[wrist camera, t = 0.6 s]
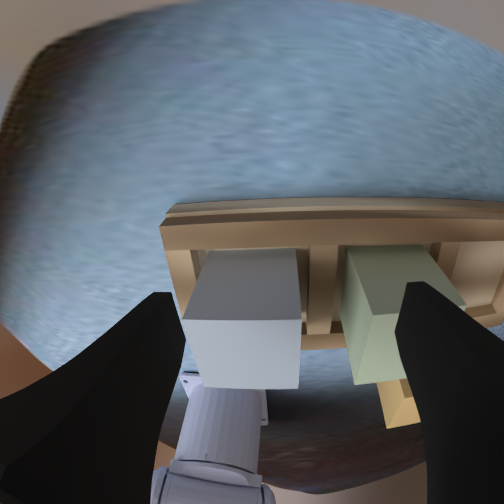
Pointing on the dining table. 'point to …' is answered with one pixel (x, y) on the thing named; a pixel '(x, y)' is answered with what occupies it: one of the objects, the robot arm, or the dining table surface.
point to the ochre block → (397, 403)
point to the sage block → (383, 304)
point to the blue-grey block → (246, 319)
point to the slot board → (344, 247)
